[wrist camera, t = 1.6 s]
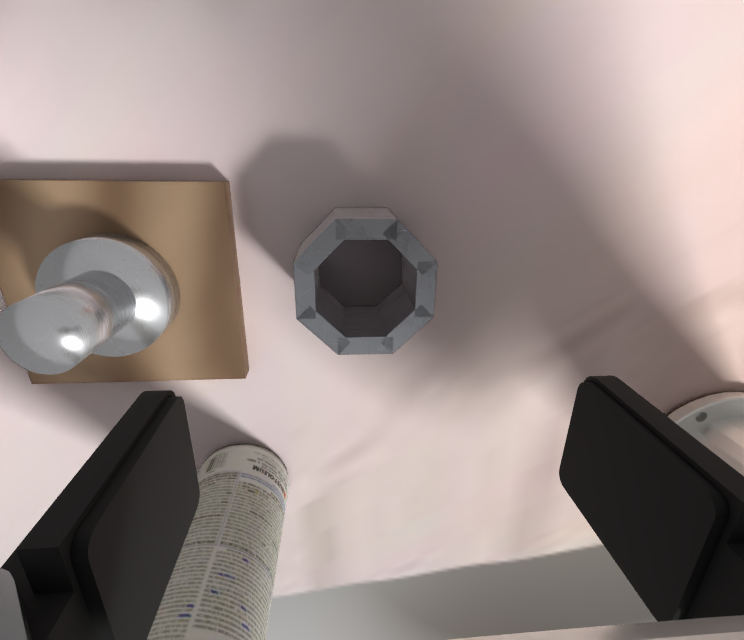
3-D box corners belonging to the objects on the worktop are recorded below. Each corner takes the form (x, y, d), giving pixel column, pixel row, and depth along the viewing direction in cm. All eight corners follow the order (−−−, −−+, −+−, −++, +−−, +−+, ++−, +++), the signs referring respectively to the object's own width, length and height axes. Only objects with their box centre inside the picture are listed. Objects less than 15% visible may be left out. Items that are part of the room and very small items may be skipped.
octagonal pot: (421, 207, 25) (440, 218, 20) (415, 320, 27) (430, 352, 23) (299, 206, 24) (290, 218, 20) (305, 321, 27) (298, 355, 22)
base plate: (229, 181, 23) (223, 182, 22) (249, 369, 28) (245, 378, 27) (-17, 178, 22) (-35, 180, 21) (44, 374, 27) (31, 383, 26)
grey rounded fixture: (170, 232, 23) (104, 262, 17) (188, 341, 25) (136, 403, 19) (45, 232, 23) (-74, 263, 16) (75, 343, 25) (-18, 408, 18)
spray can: (198, 508, 32) (1, 1004, 13) (198, 435, 29) (-41, 912, 11) (286, 513, 33) (218, 984, 14) (293, 442, 30) (222, 897, 12)
